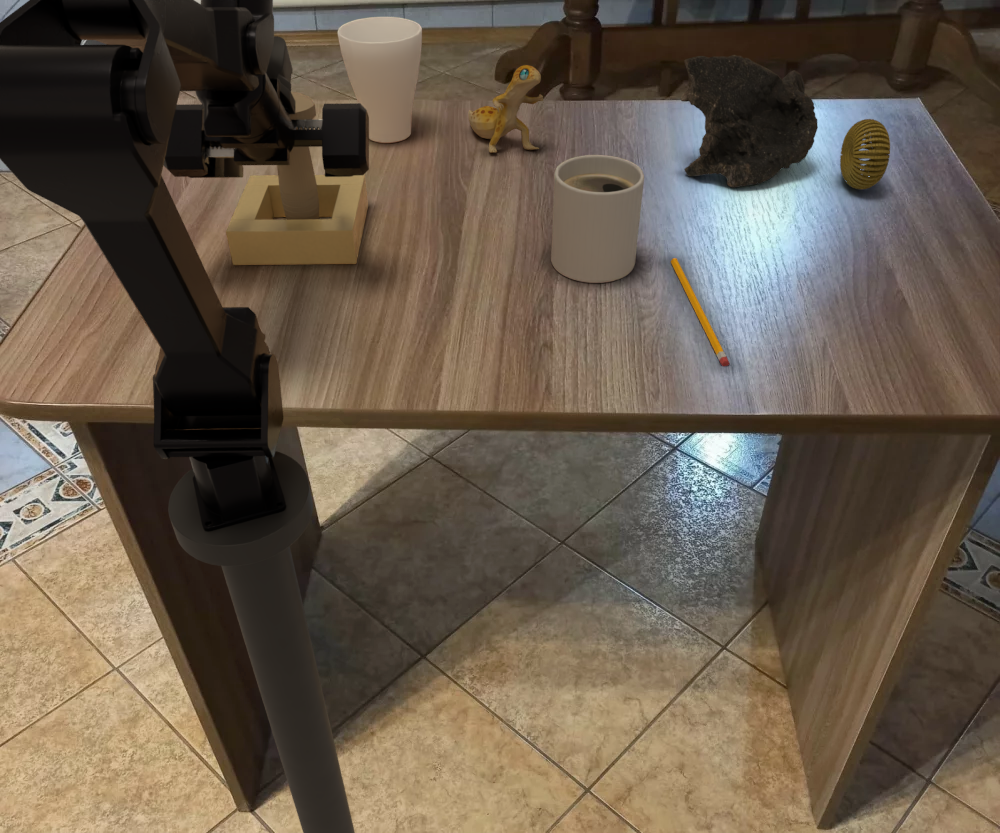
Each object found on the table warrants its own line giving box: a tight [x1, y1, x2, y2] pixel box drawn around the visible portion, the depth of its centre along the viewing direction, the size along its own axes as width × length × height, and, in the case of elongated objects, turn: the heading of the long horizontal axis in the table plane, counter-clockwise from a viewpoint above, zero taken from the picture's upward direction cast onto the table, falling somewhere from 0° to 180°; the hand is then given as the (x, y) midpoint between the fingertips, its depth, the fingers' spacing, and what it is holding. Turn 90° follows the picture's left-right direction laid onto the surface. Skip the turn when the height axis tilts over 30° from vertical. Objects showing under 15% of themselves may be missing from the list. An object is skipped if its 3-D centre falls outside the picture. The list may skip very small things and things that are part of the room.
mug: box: [550, 154, 645, 284], centre depth 93 cm, size 11×10×10 cm
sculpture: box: [839, 118, 891, 190], centre depth 106 cm, size 8×4×8 cm, turn 179°
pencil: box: [670, 257, 731, 367], centre depth 88 cm, size 1×18×1 cm, turn 6°
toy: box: [467, 64, 544, 154], centre depth 116 cm, size 7×15×10 cm, turn 44°
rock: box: [680, 54, 819, 188], centre depth 111 cm, size 17×12×15 cm
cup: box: [336, 16, 423, 144], centre depth 116 cm, size 10×10×14 cm
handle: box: [276, 91, 320, 220], centre depth 95 cm, size 5×6×15 cm
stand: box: [225, 174, 369, 266], centre depth 99 cm, size 13×13×4 cm
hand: (286, 172), depth 92 cm, fingers open, 9 cm apart
